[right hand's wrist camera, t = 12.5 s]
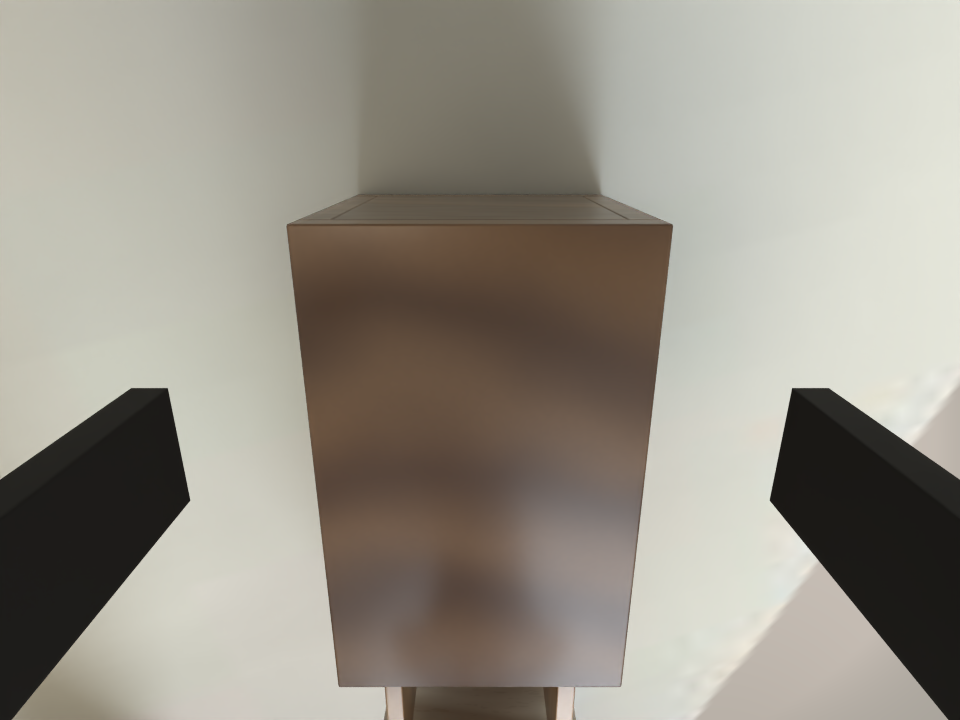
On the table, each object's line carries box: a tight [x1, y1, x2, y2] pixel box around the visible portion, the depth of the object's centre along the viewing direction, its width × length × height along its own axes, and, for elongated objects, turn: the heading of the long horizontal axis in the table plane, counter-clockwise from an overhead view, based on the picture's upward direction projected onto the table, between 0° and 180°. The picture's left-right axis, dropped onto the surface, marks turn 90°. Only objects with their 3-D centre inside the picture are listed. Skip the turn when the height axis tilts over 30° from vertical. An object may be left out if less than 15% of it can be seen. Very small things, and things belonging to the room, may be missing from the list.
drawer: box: [384, 687, 576, 720], centre depth 31 cm, size 23×10×9 cm, turn 0°
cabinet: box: [287, 195, 673, 687], centre depth 26 cm, size 19×12×11 cm, turn 0°
